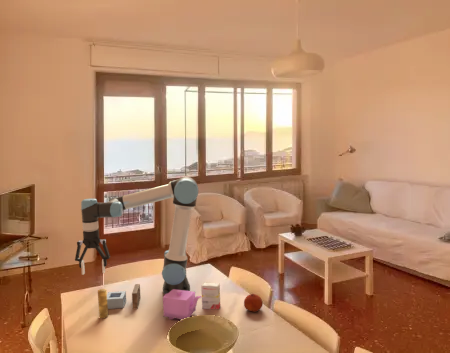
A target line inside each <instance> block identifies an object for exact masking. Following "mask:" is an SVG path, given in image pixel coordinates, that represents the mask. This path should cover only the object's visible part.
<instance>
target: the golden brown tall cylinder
mask: <svg viewBox="0 0 450 353" xmlns="http://www.w3.org/2000/svg"><path fill="white" fill-rule="evenodd" d="M107 294H108V291H107V288H100V289H98V290H97V300H98V315H99V316H98V317H100V319H102V318H103V319H106V318H108V317H109V311H108V310H109V309H108V306H107Z"/></svg>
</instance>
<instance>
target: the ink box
mask: <svg viewBox="0 0 450 353" xmlns="http://www.w3.org/2000/svg"><path fill="white" fill-rule="evenodd" d="M220 286H221V285H220V283H219V282H205V281H204V282H203V283H202V284H201V287H200V288H201V289H200V291H201V296H202V297H201V307H202V310H205V309H206V310H207V309H208V310H220V307H221V287H220Z"/></svg>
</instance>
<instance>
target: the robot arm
mask: <svg viewBox="0 0 450 353" xmlns="http://www.w3.org/2000/svg"><path fill="white" fill-rule="evenodd" d="M198 186H199V185H198V183H197V181H196V179H194V178H192V177H190V176H182V177H180V178H178V179H176V180H175V179H174V180H172V181H169V182H168V184H164V185H160V186H156V187H152V188H149V189H144V190H141V191H137V192H131V193H130V194H125V195H122V196H114V197H112V198H110V199H109V200H108V201H106V202H98V200H97V198H85V199H82V200H81V202H80V207H81V208H80V211H81V221H82V222H81V223H82V240H78V241H77V242H76V246H77V247H76V252H75V257H74V261H76V262H78V266H79V269H81V275H83V276H84V275H85V274H86V271H85V270H86V269H85V268H86V267H85V260H84V257H85V256H86V253H87V251H88V249H95V250H96V251H97V252H98V254H99V256H100V257H101V259H102V260H101V267H102V268H101V269H102V274H105V272H106V267H107V265H108V263H107V262H108V261H107V260H110V258H111V254H110V252H109V248H108V246H107V239H106V238H104V239H101V238H100V229H99V218H101V219H102V218H119V217H121V216H123V211H127V210H131V209H133V208H137V207H141V206H144V205H149V204H153V203H156V202H160V201H164V200H168V199H173V200H172V205H174V213H173V220H172V226H171V233H170V239H169V240H170V242H169V245H168V246H169V247H168V250H165V251H164V255H163V257H164V258H163V259H164V260H163V267H162V270H161V271H162V272H161V275H162V279H163V281H164V282H163V284H162V293H163V294H164V295H165V294H167V293H169V292H170V291H171V290H173V289H176V290H185V291H191V285H190V282H189V279H188V277H187V264H188V256H187V253H186V251H187V244H188V238H189V232H190V227H191V226H190V225H191V218H192V211H193V209H195V208H196V205H197V199H198V196H199V187H198ZM100 244H101V245H102V248H101V246H100ZM82 245H84V248H83V251H82V252H81V248H82ZM80 254H81V255H80Z"/></svg>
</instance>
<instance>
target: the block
mask: <svg viewBox="0 0 450 353" xmlns="http://www.w3.org/2000/svg"><path fill="white" fill-rule="evenodd" d="M126 302H127V291H126V290H120V291H119V290H118V291H109V292H108V291H107V306H108V310H111V309H112V310H113V309H114V310H115V309H123V308H124V307H125V304H126Z"/></svg>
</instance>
